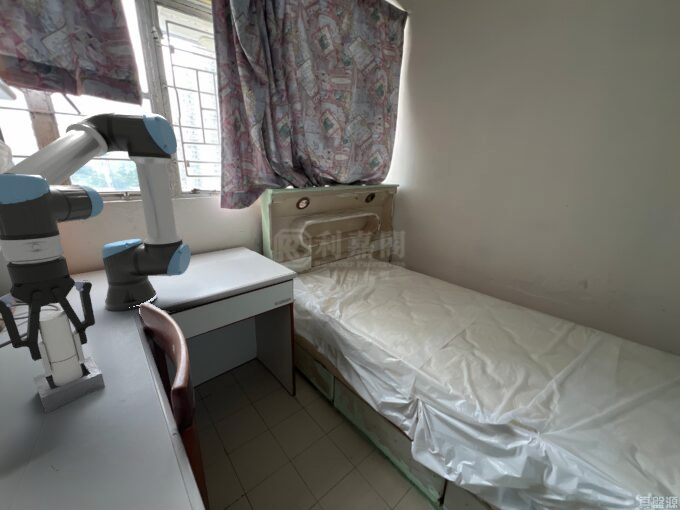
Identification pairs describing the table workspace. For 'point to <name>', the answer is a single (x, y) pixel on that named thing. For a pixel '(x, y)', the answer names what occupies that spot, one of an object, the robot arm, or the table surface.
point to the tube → (60, 347)
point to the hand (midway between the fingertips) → (64, 364)
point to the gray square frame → (69, 386)
